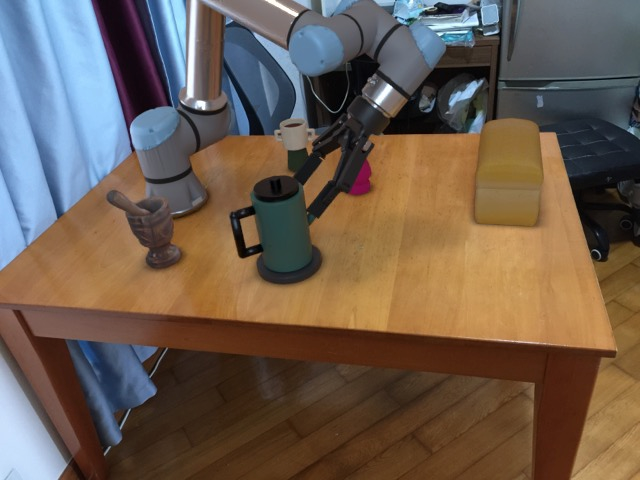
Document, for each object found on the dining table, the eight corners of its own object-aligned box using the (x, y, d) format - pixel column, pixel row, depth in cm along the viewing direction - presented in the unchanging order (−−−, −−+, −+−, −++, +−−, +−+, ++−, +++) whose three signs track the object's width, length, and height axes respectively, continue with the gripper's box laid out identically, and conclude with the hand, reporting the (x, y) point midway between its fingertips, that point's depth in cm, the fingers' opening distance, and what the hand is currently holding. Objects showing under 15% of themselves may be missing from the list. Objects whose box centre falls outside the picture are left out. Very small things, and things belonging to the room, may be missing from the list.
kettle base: (271, 244, 117) (269, 238, 117) (328, 248, 114) (328, 242, 113) (247, 281, 107) (246, 275, 106) (310, 287, 103) (309, 281, 102)
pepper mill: (376, 183, 135) (372, 105, 124) (366, 197, 130) (360, 117, 119) (349, 180, 138) (343, 104, 127) (338, 194, 133) (330, 115, 122)
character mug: (321, 162, 149) (316, 116, 142) (316, 174, 143) (311, 127, 136) (283, 163, 151) (276, 118, 144) (277, 174, 146) (269, 128, 139)
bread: (478, 171, 135) (481, 113, 126) (534, 173, 131) (541, 113, 123) (472, 223, 115) (475, 158, 107) (538, 227, 112) (546, 160, 103)
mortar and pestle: (169, 280, 110) (140, 193, 99) (130, 280, 112) (97, 194, 101) (189, 248, 120) (165, 165, 109) (152, 248, 121) (125, 167, 111)
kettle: (320, 232, 116) (310, 155, 106) (340, 254, 108) (331, 174, 98) (235, 260, 110) (216, 182, 101) (250, 286, 103) (231, 204, 93)
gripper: (341, 75, 106) (277, 161, 112) (383, 117, 85) (302, 220, 91) (369, 97, 109) (306, 179, 115) (416, 142, 89) (335, 239, 95)
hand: (304, 197), depth 103 cm, fingers open, 13 cm apart
